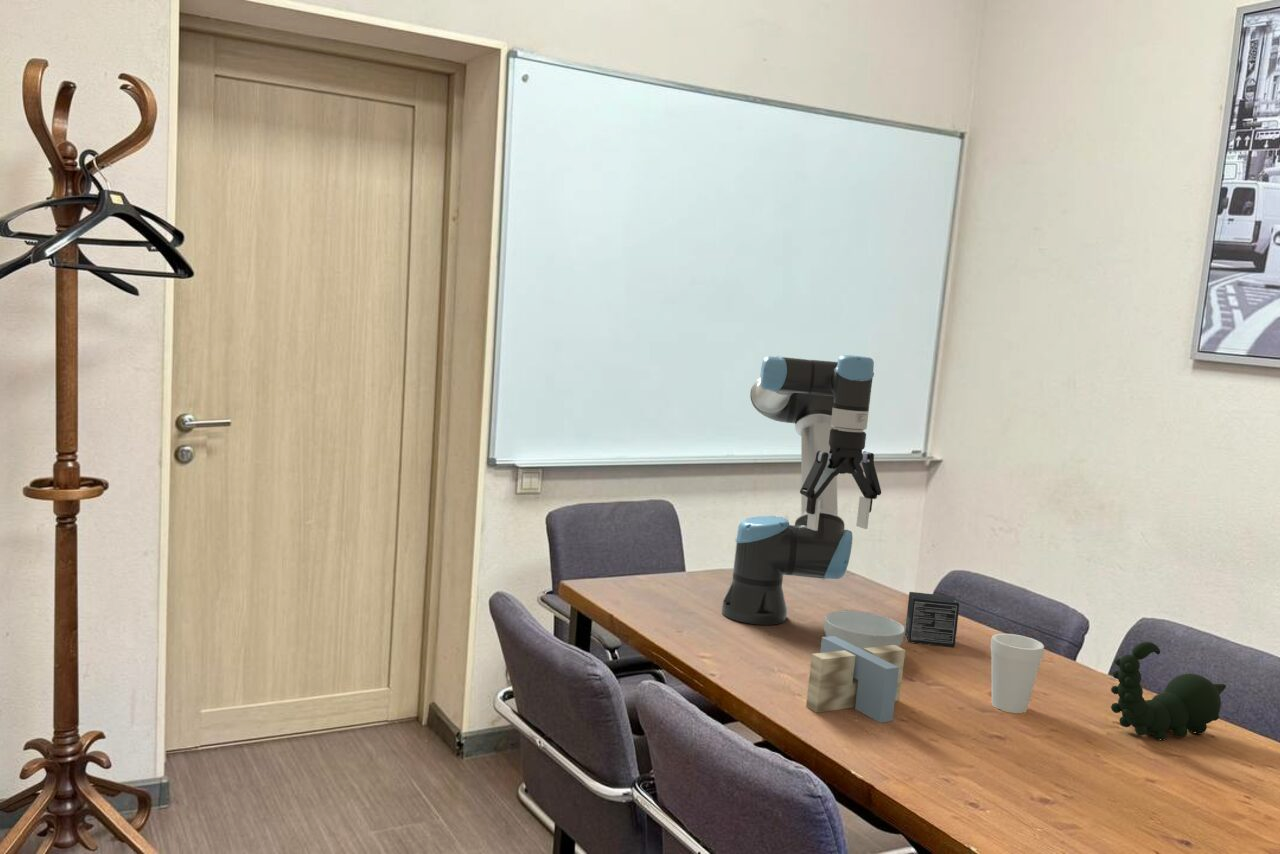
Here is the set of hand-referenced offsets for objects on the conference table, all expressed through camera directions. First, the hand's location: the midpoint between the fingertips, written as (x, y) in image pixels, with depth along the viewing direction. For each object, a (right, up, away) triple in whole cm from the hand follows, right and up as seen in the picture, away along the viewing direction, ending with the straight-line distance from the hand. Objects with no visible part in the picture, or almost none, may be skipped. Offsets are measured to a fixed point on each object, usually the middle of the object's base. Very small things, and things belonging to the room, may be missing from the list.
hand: (837, 528), depth 228 cm
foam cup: (+29, -32, -22) cm, 49 cm away
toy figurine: (+56, -36, -28) cm, 72 cm away
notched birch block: (-2, -30, -28) cm, 41 cm away
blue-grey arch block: (-2, -30, -27) cm, 41 cm away
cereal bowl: (+6, -27, +3) cm, 28 cm away
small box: (+24, -27, +17) cm, 40 cm away
